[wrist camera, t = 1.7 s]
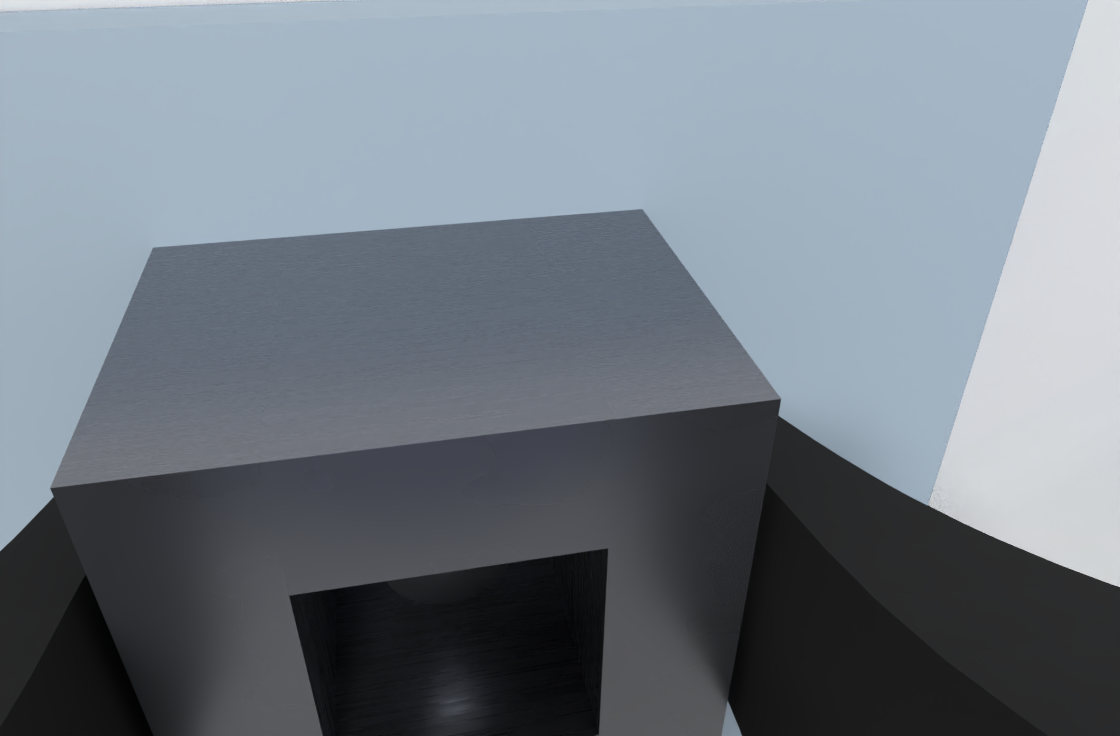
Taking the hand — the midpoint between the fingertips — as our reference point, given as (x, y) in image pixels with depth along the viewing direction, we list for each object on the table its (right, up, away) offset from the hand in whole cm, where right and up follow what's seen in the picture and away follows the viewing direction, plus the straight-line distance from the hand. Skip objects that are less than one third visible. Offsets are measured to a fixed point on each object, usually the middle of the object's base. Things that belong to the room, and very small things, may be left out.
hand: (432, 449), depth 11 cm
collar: (0, 0, 0) cm, 1 cm away
